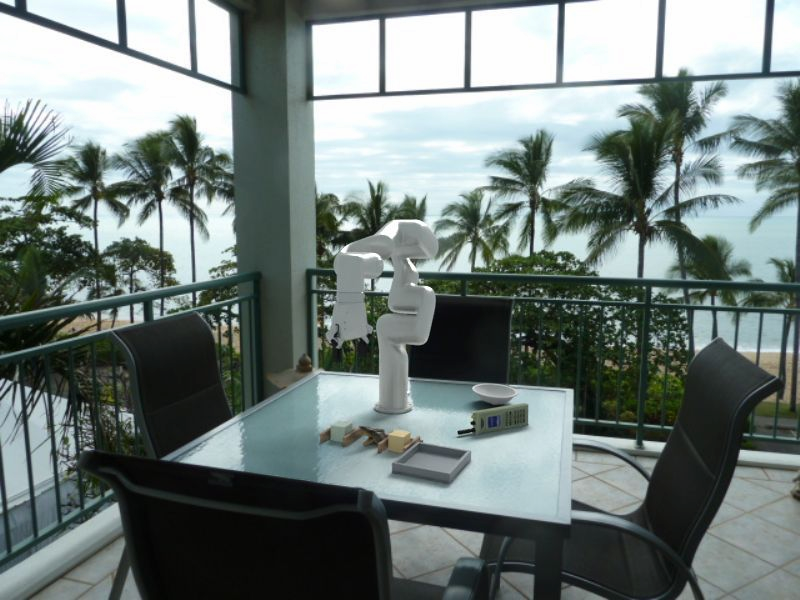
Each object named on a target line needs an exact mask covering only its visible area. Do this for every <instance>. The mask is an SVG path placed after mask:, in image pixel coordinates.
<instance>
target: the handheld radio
mask: <svg viewBox="0 0 800 600" xmlns="http://www.w3.org/2000/svg"><path fill="white" fill-rule="evenodd" d="M470 413H471V415H470V418H471V419H472V420H471V421H470V422H469V423H470V425H471V426H472V427H470V428H466V429H465V428H464V429H460V430H457V435H458V436H461V435H467V434H471V433H473V434H475V435H481V434H485V433H492V432H497V431H503V430H506V429H507V430H508V429H512V428H519V427H523V426H528V425H529V403H526V402H522V403H516V404H510V405H504V406H497V407H492V408H486V409H480V410H473V411H471V412H470Z"/></svg>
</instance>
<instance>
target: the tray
mask: <svg viewBox="0 0 800 600" xmlns="http://www.w3.org/2000/svg"><path fill="white" fill-rule="evenodd" d="M471 461H472V450H469V449H464V448H457V447H451V446H445V445H440V444H435V443H434V444H433V443H427V442H424V441H423V442H417V443H416V444H414V445H413V446H412V447H411V448H409V449H408V450H407V451H406V452H405V453H401V455H400V456H399V457H397V458H396V459H395V460H394V461H392V463H391V474H392V473H393V474H397V475H402V476H406V477H411V478H412V477H413V478H416V479H417V478H418V479H422V480H427V481H432V482H438V483H442V484H447V485H451V483H452V482H453V481H454V480H455V479H456V477H457V476H458V475H459V474H460V473H461V472H462V471H463V470H464V469H465V467H466V466H468V464H469V463H470V462H471Z"/></svg>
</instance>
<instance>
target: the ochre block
mask: <svg viewBox="0 0 800 600" xmlns="http://www.w3.org/2000/svg"><path fill="white" fill-rule="evenodd" d="M411 433H412V432H411V431H406V430H400V429H394V430H393V431H391V432H390V433H388V434H389V435H388V448H387V450H388V451H389V452H395V453H401V454H403V448H404V447H405V446H406V445H407V444H408V443H410V438H411Z"/></svg>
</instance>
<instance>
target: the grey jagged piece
mask: <svg viewBox="0 0 800 600" xmlns="http://www.w3.org/2000/svg"><path fill="white" fill-rule="evenodd" d="M359 427H360V429H361V430H362V434H363V436H365V435H366V436H368V437H367V439H366V440H365V441H363V442H362V445H363V446H365V447H366V446H370V445H372V444H377V445H378V443H379V442H381V441H382V440H384V439H385V434H386V431H385V429H383V428H374V427H371V426H366V425H359V426H358V428H359Z"/></svg>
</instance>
